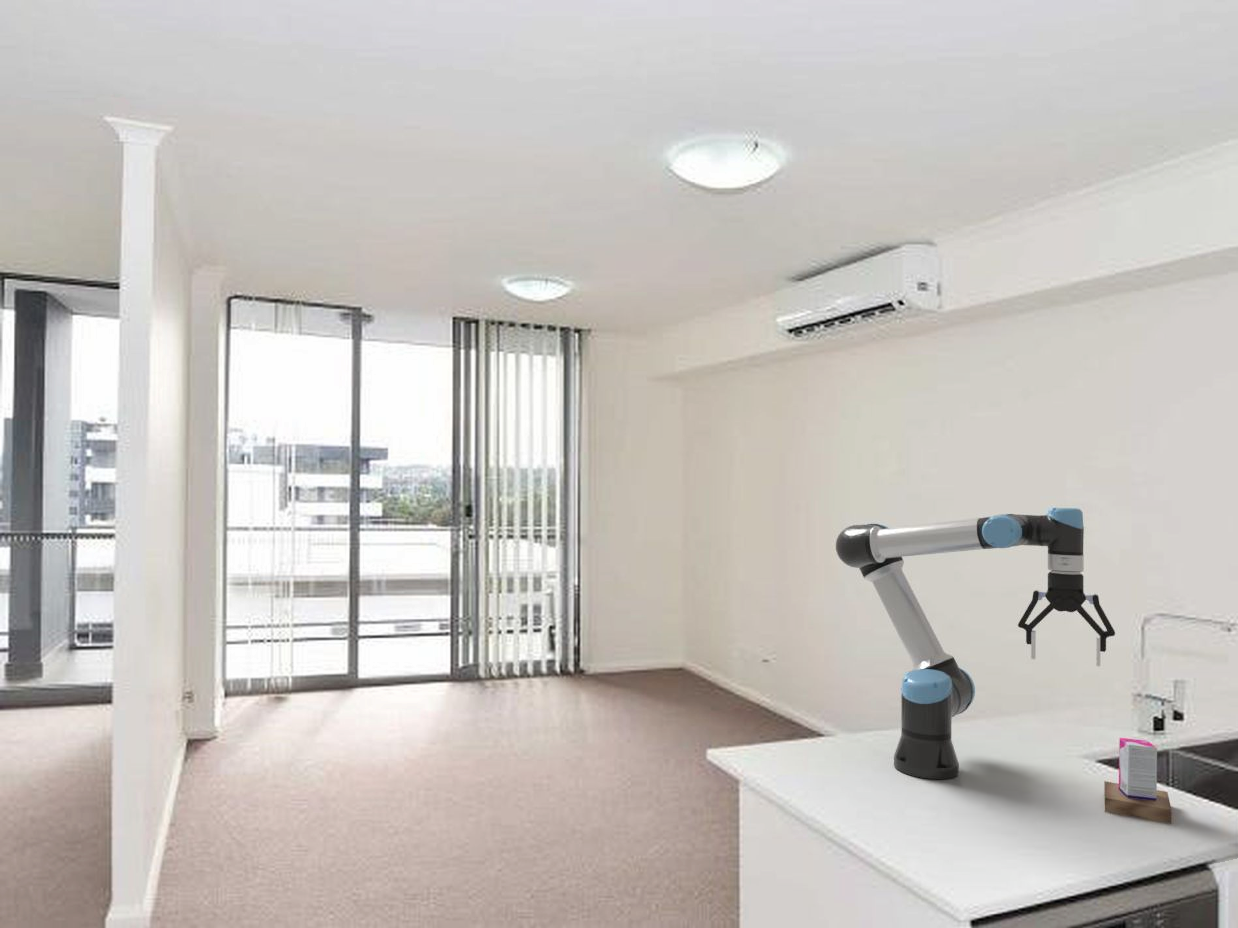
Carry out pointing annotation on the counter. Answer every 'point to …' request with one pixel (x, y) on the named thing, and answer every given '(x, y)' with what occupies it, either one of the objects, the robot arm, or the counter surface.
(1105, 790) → the wooden block
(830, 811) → the counter surface
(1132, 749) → the supplement box
